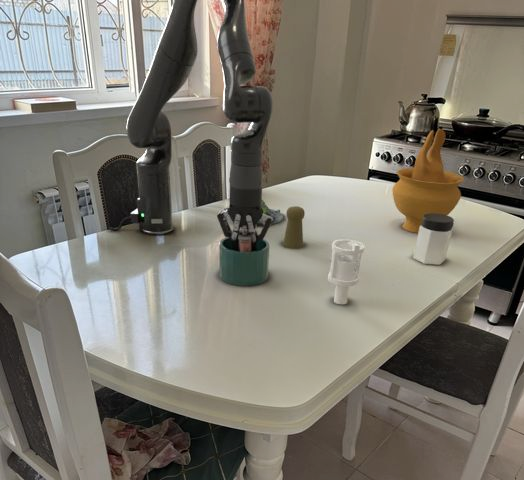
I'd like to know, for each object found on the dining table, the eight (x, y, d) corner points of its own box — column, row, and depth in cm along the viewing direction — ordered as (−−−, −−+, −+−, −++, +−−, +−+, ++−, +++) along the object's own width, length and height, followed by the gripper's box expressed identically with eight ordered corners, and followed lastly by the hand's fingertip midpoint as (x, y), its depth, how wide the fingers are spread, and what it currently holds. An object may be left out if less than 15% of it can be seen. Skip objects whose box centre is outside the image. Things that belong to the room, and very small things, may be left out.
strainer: (335, 310, 113) (343, 247, 105) (319, 297, 119) (326, 235, 111) (361, 305, 116) (371, 243, 108) (345, 293, 121) (354, 232, 113)
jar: (451, 263, 141) (462, 221, 134) (428, 267, 138) (438, 224, 131) (429, 252, 147) (438, 211, 141) (407, 255, 144) (416, 214, 138)
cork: (301, 249, 145) (305, 211, 139) (281, 247, 146) (283, 209, 140) (304, 242, 150) (307, 205, 144) (284, 240, 151) (287, 203, 145)
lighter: (240, 257, 129) (238, 218, 124) (253, 256, 129) (251, 218, 124) (239, 269, 122) (236, 228, 117) (253, 268, 122) (251, 228, 117)
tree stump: (296, 222, 167) (291, 170, 155) (247, 245, 160) (238, 193, 148) (264, 205, 179) (258, 155, 167) (217, 226, 172) (207, 176, 160)
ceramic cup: (219, 285, 122) (219, 252, 117) (219, 266, 132) (219, 234, 128) (269, 286, 123) (271, 253, 118) (265, 266, 133) (267, 235, 129)
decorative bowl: (428, 243, 153) (452, 138, 137) (373, 225, 166) (389, 127, 151) (464, 231, 166) (489, 133, 150) (410, 214, 179) (428, 123, 163)
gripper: (278, 182, 118) (274, 252, 127) (220, 177, 119) (220, 246, 129) (273, 190, 111) (269, 263, 120) (211, 184, 113) (212, 257, 122)
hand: (244, 254), depth 125 cm, fingers closed on lighter, 3 cm apart
